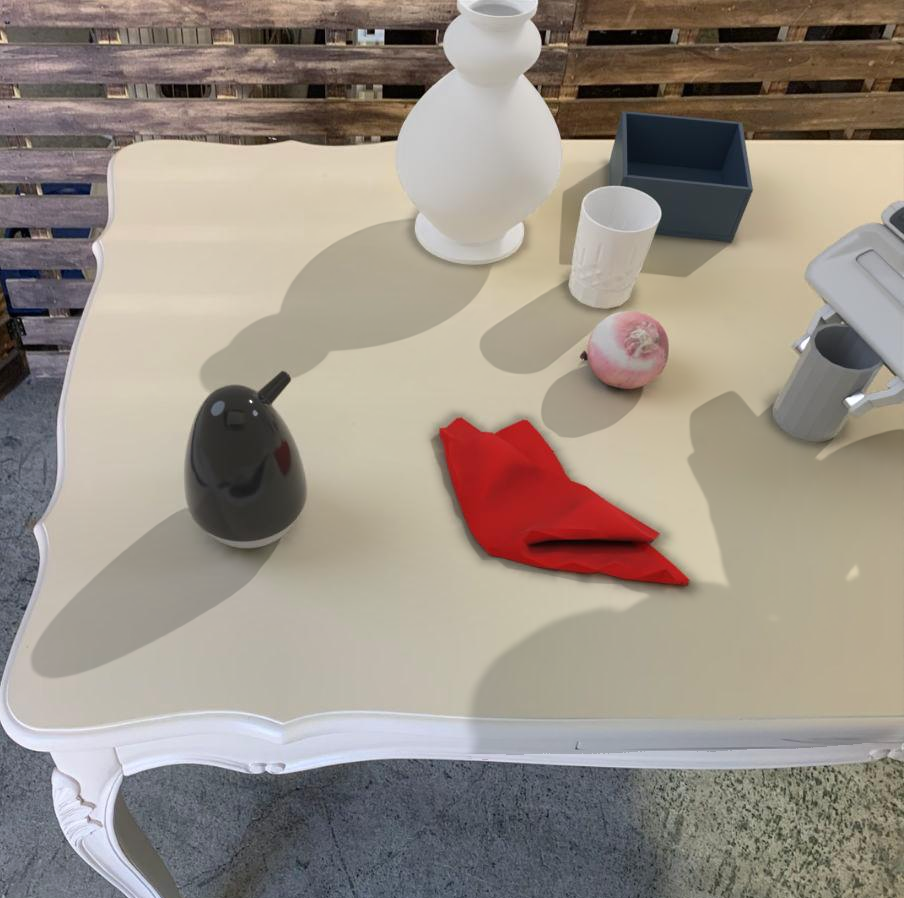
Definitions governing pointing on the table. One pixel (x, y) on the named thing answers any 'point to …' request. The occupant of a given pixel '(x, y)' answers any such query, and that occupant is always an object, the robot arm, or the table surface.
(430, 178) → the decorative vase
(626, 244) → the white cup
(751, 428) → the table surface
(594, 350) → the onion
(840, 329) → the steel cup
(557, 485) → the cloth
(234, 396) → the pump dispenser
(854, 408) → the robot arm
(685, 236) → the basket
